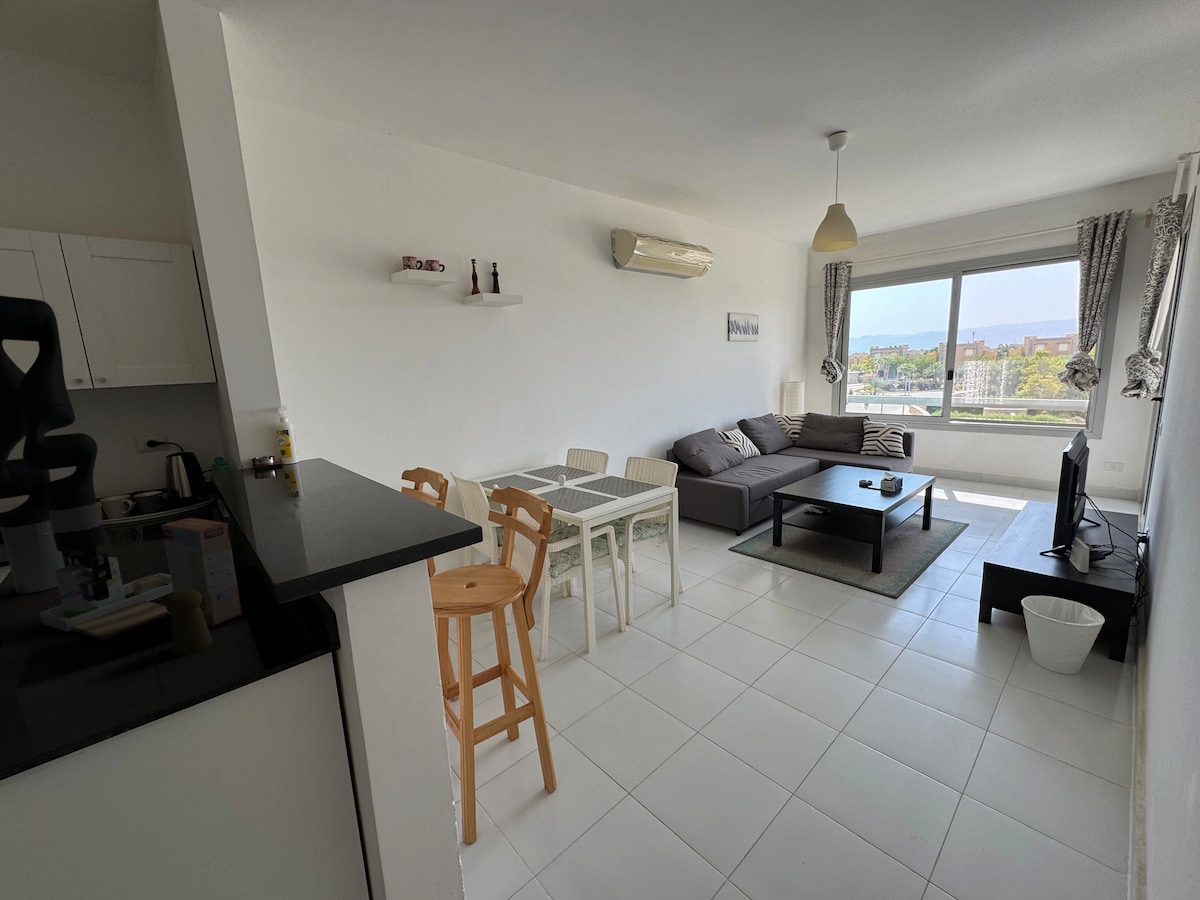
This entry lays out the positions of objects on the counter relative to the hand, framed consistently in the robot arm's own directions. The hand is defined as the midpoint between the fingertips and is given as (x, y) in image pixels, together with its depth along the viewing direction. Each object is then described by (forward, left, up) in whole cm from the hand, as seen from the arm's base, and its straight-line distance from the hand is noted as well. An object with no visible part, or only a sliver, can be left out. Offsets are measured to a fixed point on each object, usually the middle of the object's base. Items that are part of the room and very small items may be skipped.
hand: (93, 596), depth 107 cm
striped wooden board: (+12, 0, -4) cm, 13 cm away
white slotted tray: (0, +4, -4) cm, 6 cm away
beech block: (0, +10, -4) cm, 10 cm away
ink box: (0, 0, -4) cm, 4 cm away
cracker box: (+27, +8, -4) cm, 28 cm away
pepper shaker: (+38, -1, -4) cm, 38 cm away
